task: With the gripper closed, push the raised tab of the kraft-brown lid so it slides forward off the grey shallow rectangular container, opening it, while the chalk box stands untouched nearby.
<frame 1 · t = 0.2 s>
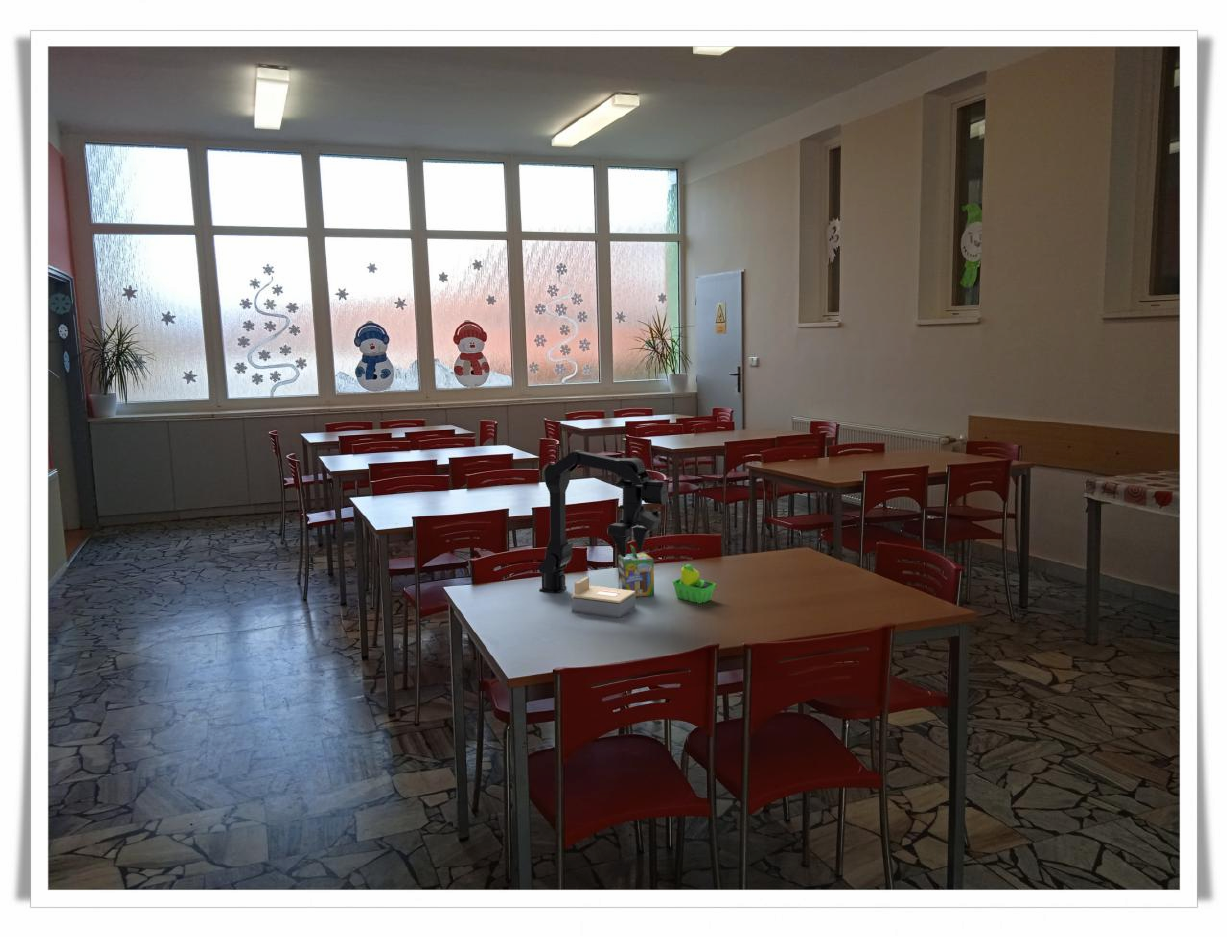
hand: (631, 553, 250), 14 cm above the table, fingers open, 9 cm apart
lid: (603, 588, 243), point 6 cm above the table, slide at 0.0 cm
grey shallow rectangular container: (603, 609, 244), on the table
chalk box: (635, 594, 260), on the table
fruit basket: (692, 600, 253), on the table
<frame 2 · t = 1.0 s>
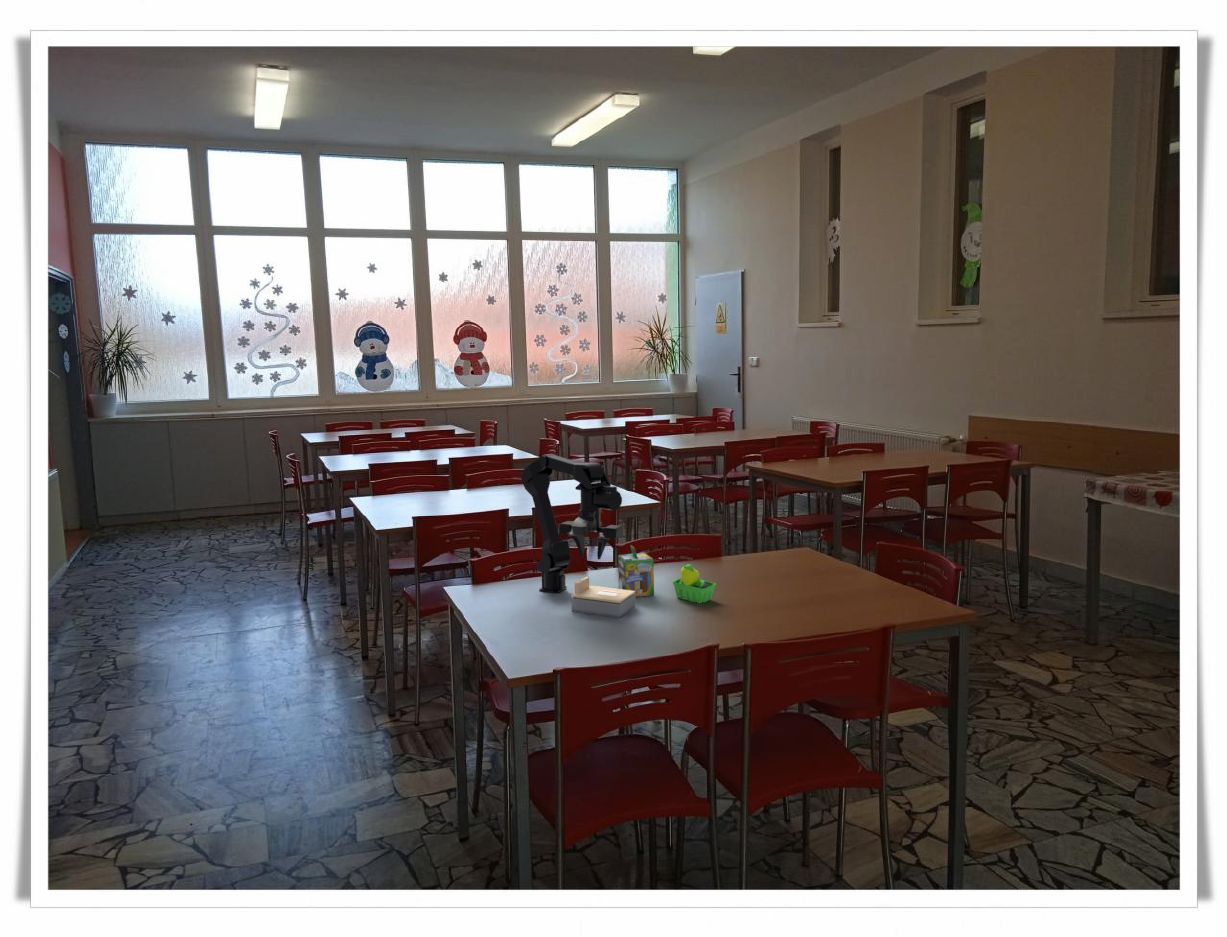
hand: (590, 558, 250), 13 cm above the table, fingers open, 5 cm apart
nothing on the table moved.
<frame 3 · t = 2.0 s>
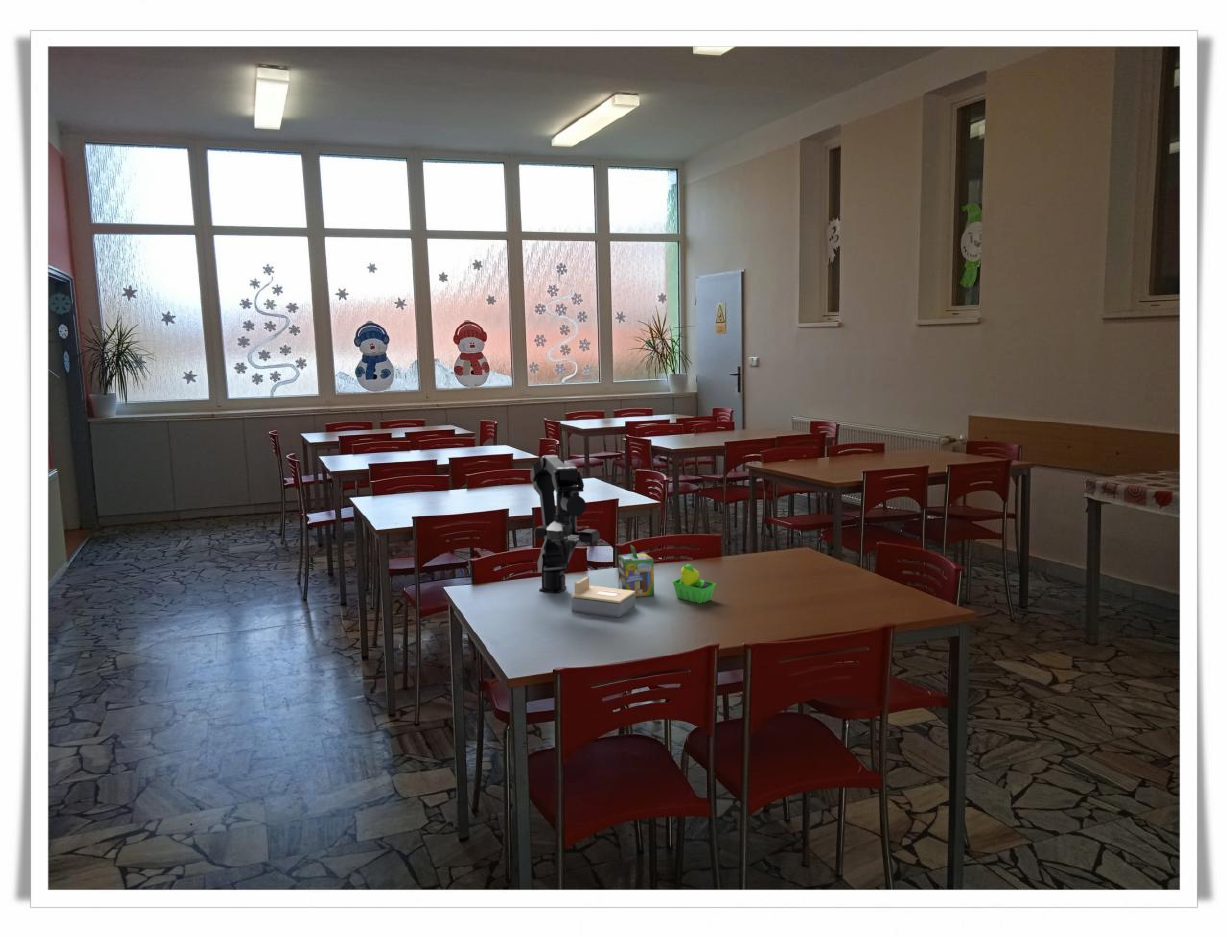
hand: (566, 562, 247), 13 cm above the table, fingers closed
nothing on the table moved.
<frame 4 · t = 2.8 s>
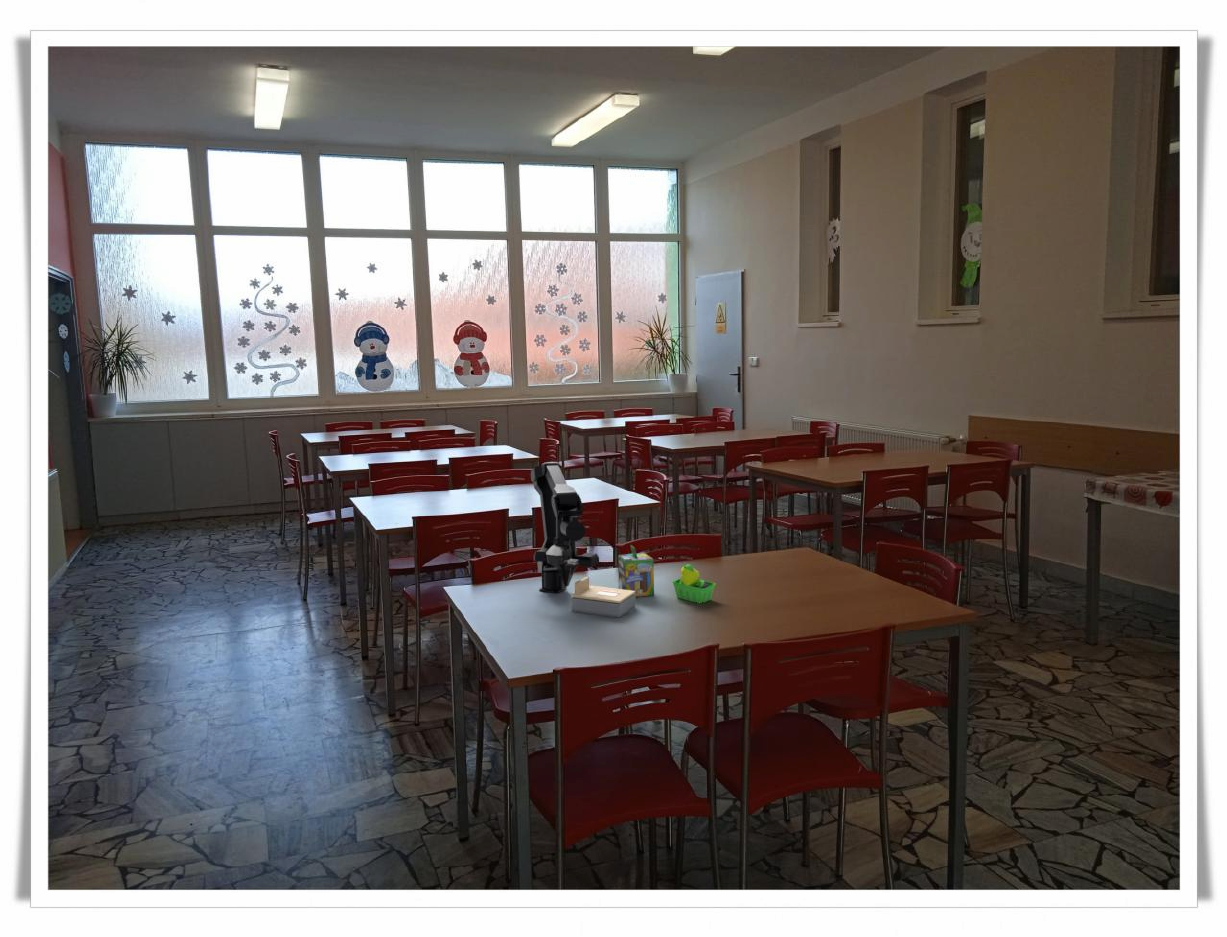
hand: (566, 586, 248), 6 cm above the table, fingers closed
nothing on the table moved.
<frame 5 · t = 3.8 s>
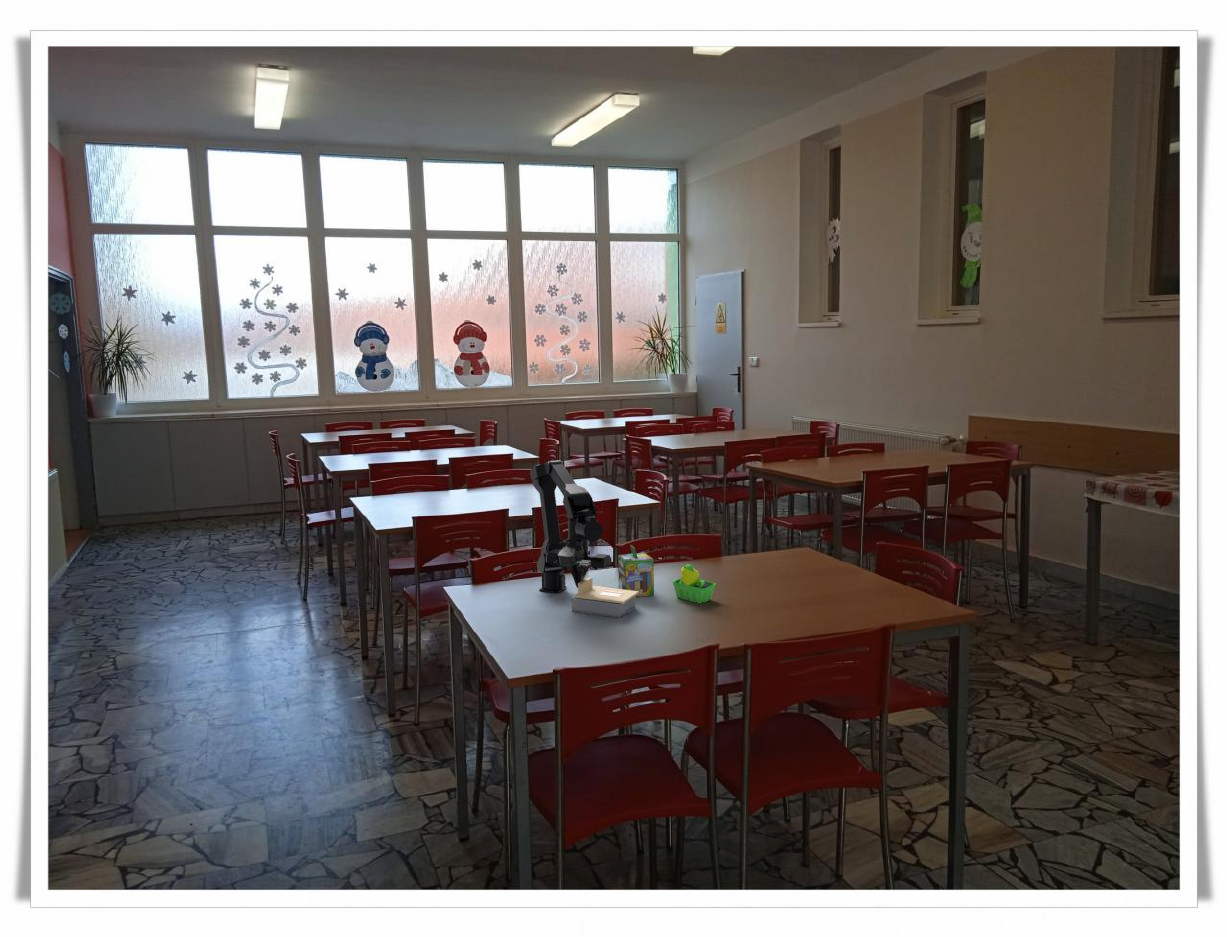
hand: (578, 587, 246), 6 cm above the table, fingers closed
lid: (606, 589, 242), point 6 cm above the table, slide at 1.1 cm, touching gripper
everything else where it was.
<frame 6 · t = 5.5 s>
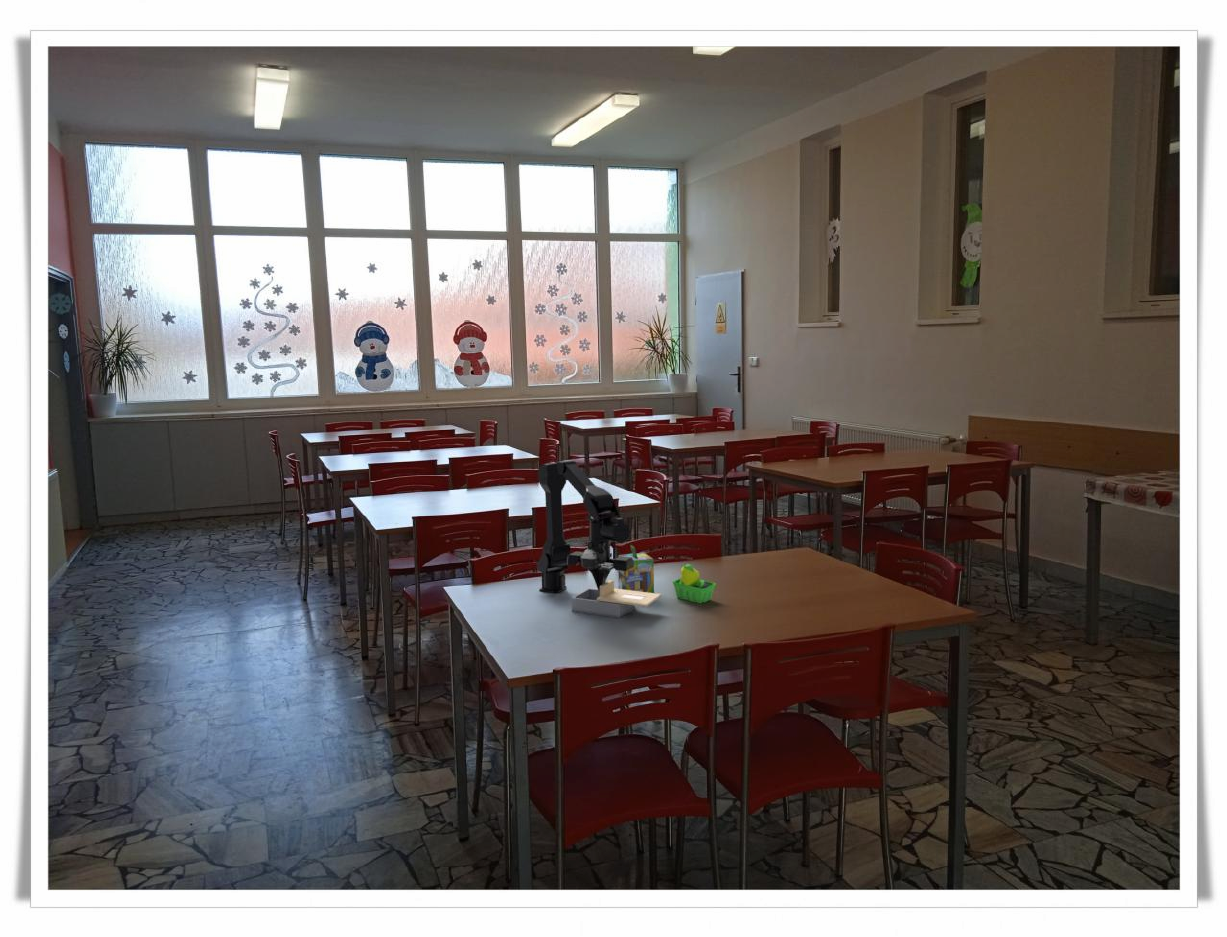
hand: (600, 590, 243), 6 cm above the table, fingers closed
lid: (629, 592, 239), point 6 cm above the table, slide at 8.0 cm, touching gripper
everything else where it was.
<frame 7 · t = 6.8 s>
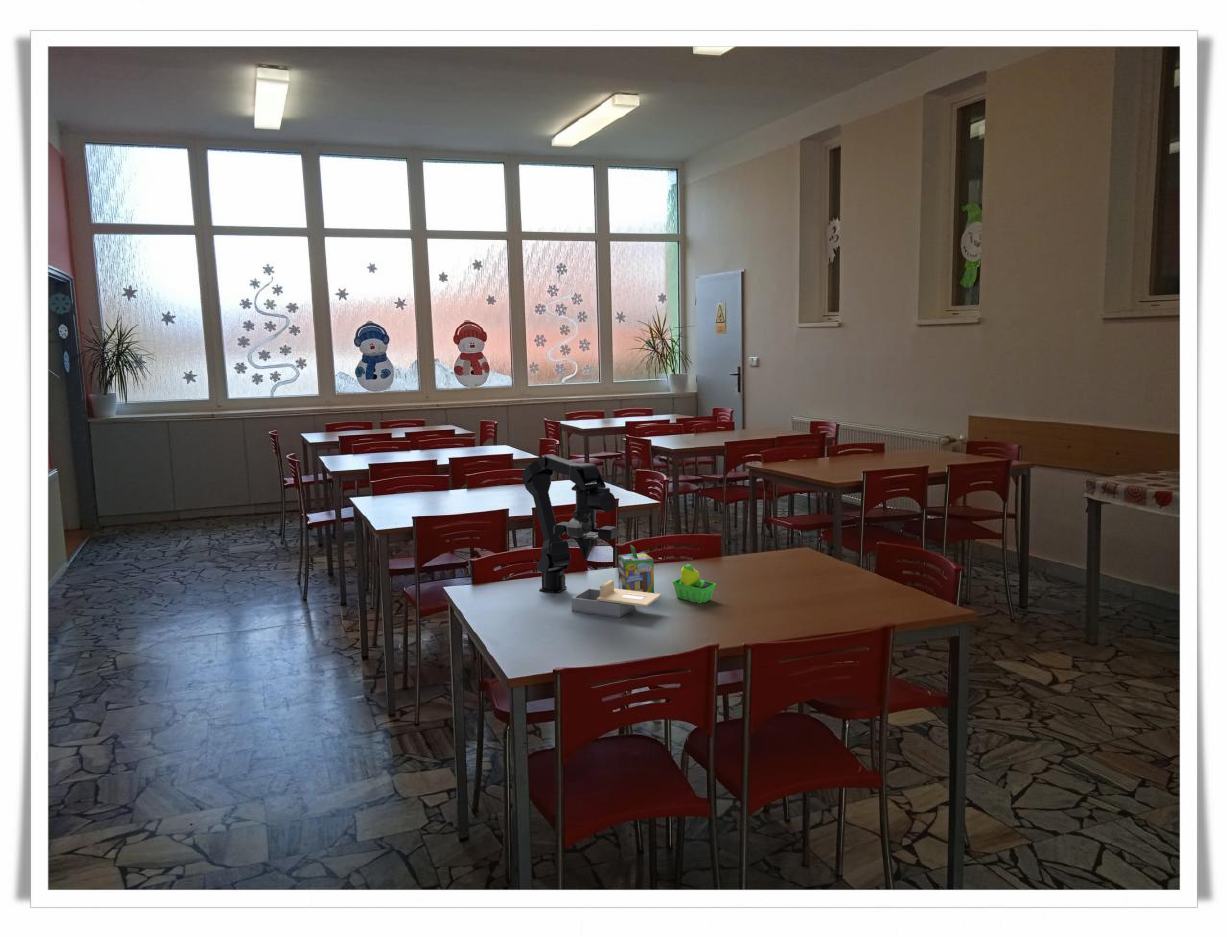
hand: (585, 559, 249), 13 cm above the table, fingers closed
lid: (629, 592, 239), point 6 cm above the table, slide at 8.0 cm
everything else where it was.
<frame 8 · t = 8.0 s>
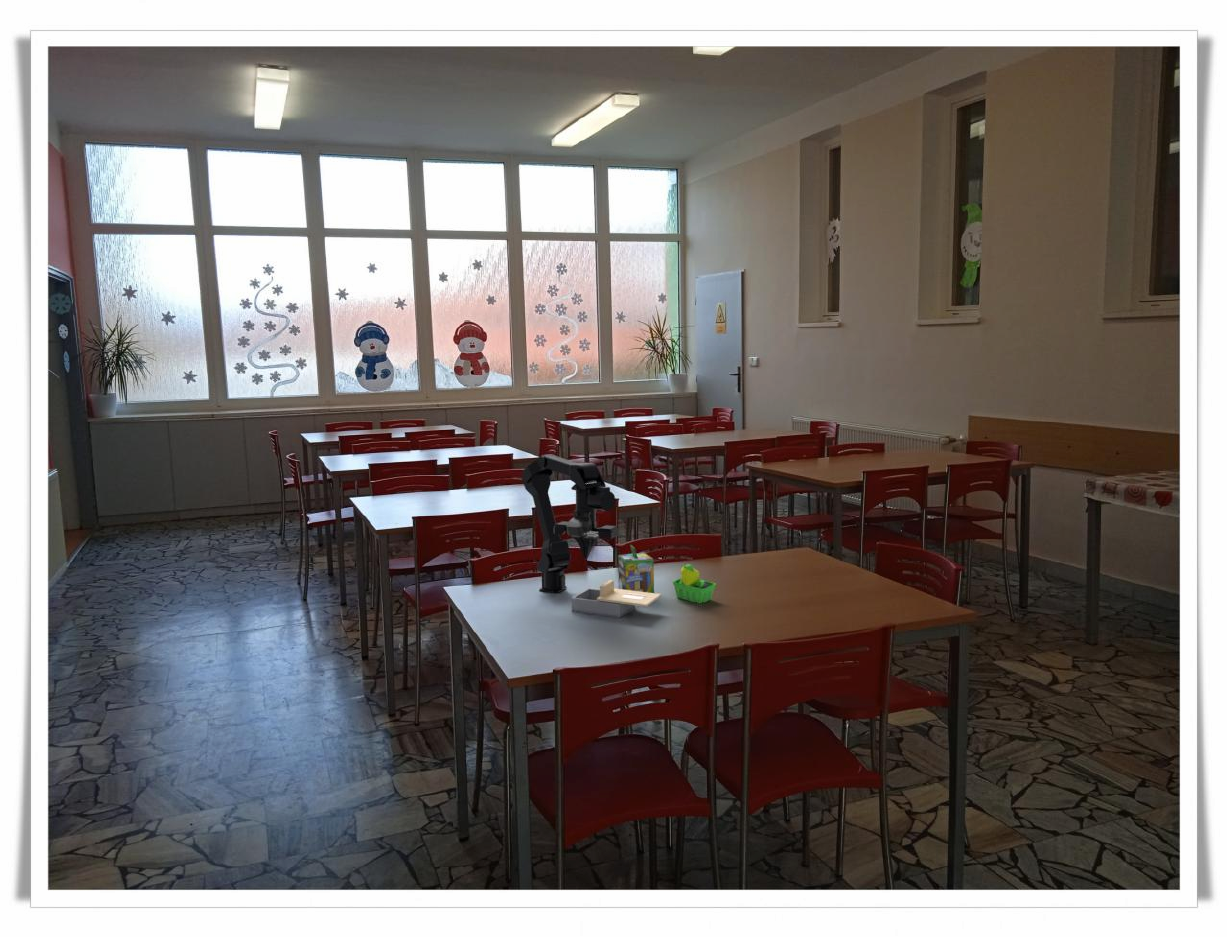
hand: (586, 558, 250), 13 cm above the table, fingers closed
nothing on the table moved.
at the end: lid slide at 8.0 cm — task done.
